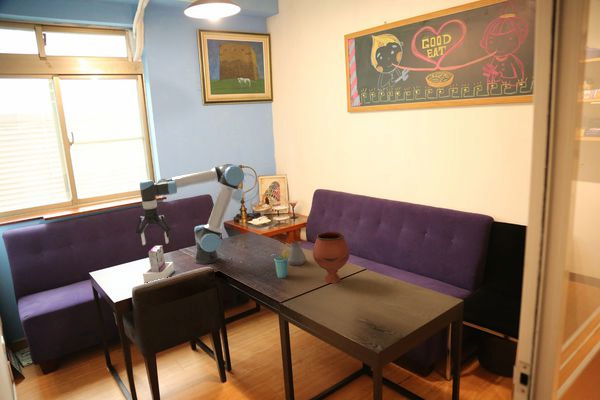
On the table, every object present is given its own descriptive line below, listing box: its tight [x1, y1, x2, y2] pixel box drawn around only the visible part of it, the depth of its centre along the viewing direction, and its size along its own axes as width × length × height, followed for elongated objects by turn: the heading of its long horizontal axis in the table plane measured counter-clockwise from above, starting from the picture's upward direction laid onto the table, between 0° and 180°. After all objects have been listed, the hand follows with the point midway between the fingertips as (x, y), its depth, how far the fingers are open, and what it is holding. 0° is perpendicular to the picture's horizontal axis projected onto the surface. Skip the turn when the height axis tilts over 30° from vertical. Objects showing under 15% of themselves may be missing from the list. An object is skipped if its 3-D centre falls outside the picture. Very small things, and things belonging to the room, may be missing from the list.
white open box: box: [142, 261, 175, 284], centre depth 238 cm, size 11×17×6 cm, turn 179°
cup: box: [270, 249, 290, 279], centre depth 225 cm, size 14×8×15 cm, turn 140°
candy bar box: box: [148, 245, 166, 272], centre depth 236 cm, size 11×5×16 cm, turn 1°
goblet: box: [312, 231, 350, 284], centre depth 215 cm, size 19×19×25 cm
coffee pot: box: [272, 236, 307, 266], centre depth 247 cm, size 21×12×15 cm, turn 60°
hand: (155, 243), depth 234 cm, fingers open, 13 cm apart
